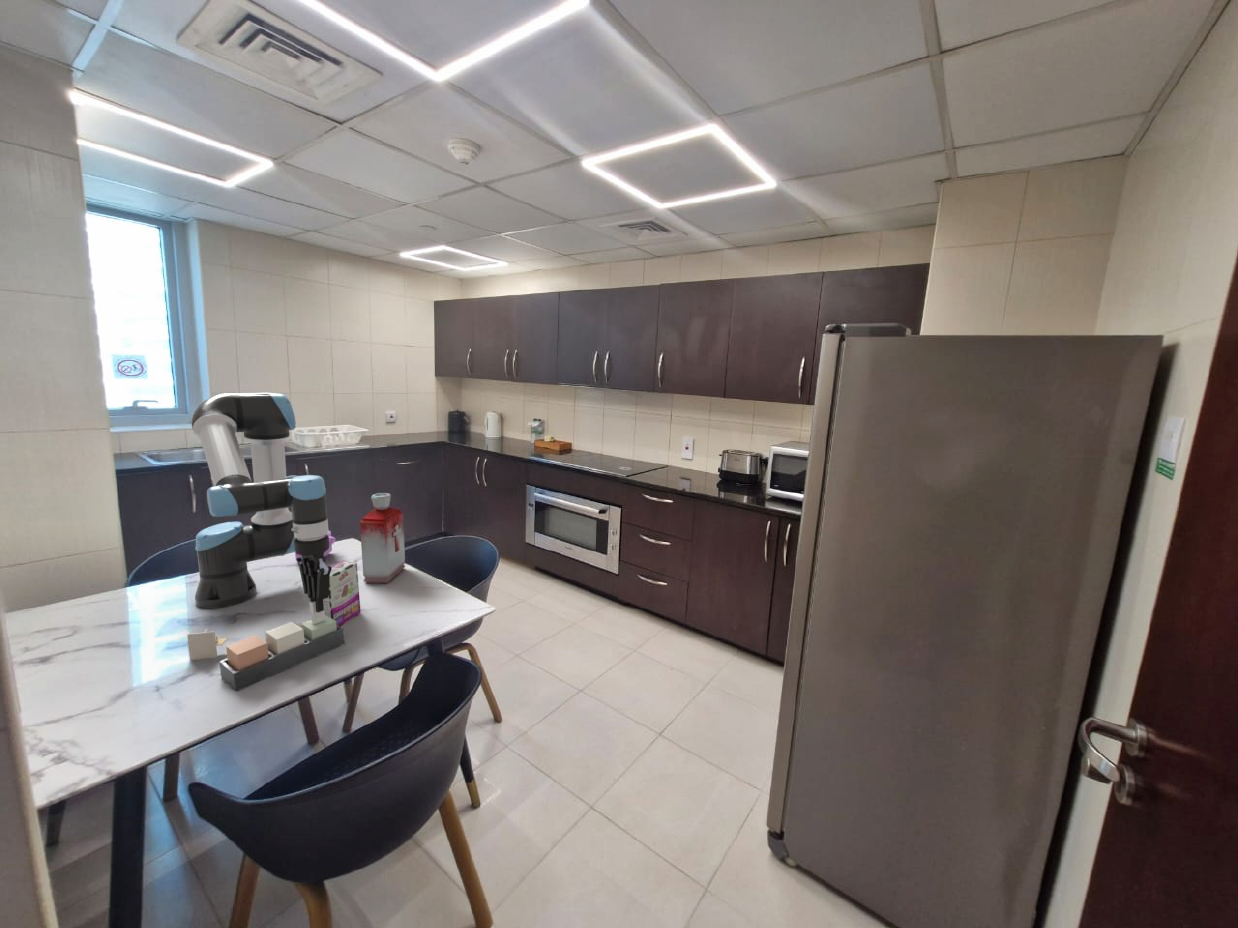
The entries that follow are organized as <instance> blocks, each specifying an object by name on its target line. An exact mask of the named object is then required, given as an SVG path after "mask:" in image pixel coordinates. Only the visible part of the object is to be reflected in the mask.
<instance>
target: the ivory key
mask: <svg viewBox="0 0 1238 928" xmlns="http://www.w3.org/2000/svg"><path fill="white" fill-rule="evenodd" d="M264 635H265V642H266V643H267V647H268V650H269V651H270V652H271V653H273V654H274V655H278V654H280V653H282V652H285V651H287V650H290V649H292V648H295V647H297V646H300V645H302V644H304V631H303V629H302V628H301V626H299V625H297V624H296V623H294V622H293V621H291V622H288V623H285V624H282V625H280V626H278V627H275V628H272V629H269V630H267V631H264Z"/></svg>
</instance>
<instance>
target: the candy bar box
mask: <svg viewBox="0 0 1238 928" xmlns="http://www.w3.org/2000/svg"><path fill="white" fill-rule="evenodd" d="M357 564H358V563H357V562H353V561H352V562H351V561H346V560H345V561H344V560H343V561H341V562H340V563H337V564H335V565H333V566H331V568H332V569H331V572H330V580H329V596H328V598H326V599H324V611H325V615H326V616H328V617H330V618H331V619H333V620H335V621H336V625H338V626H340V627H342V626H343V625H344V624H346V623H349V622H348V621H351V620H352V619H353V618H355V617H357V616H358V615H359V614H361V599H360V590H359V589H360V588H359V577H358V565H357Z"/></svg>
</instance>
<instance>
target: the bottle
mask: <svg viewBox="0 0 1238 928" xmlns="http://www.w3.org/2000/svg"><path fill="white" fill-rule="evenodd" d="M391 497H392V494H391V493H387V492H377V493H375V494H372V495H371V497H370V498H371V502H372V505H373V509H372V510H371V511H369V512H368V513H367V514H366V515H365V516H363V517H362V519H361V520H360V521H359V527H360V528H359V529H360V530H359V531H360V547H361V560H362V561H361V564H362V575H363V577H364V578H363V582H365V583H367V584H368V583H369V584H385V585H386V584H387V583H389V582H390V581H391V580H392V579H393V578H394V577H395V576H396V575H398V574H399V573H400V572H401V571H403V569H405V568H406V565H405V563H406V555H405V554H406V553H405V552H406V551H405V531H404V530H405V528H404V527H405V526H404V512H403V511H402V510H401V509H400V508H396V507H392V506H391V507H390V502H391Z"/></svg>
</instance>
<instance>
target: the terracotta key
mask: <svg viewBox="0 0 1238 928" xmlns="http://www.w3.org/2000/svg"><path fill="white" fill-rule="evenodd" d="M226 656H227V658H228V665H229V666H230V667H231V668H232V669H233V670H235V671H239V670H241V669H243V668H246V667H248V666H251V665H253V664H256V663H258V662H261V661H263V660H265V659H268V658H269V657H268V647H267V643H266V640H263V638H261V637H259V636H258V635H256V634H255V635H253V636H250V637H247V638H244V639H241V640H238V641H236V642H234V643H230V644H228V645H226Z"/></svg>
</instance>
